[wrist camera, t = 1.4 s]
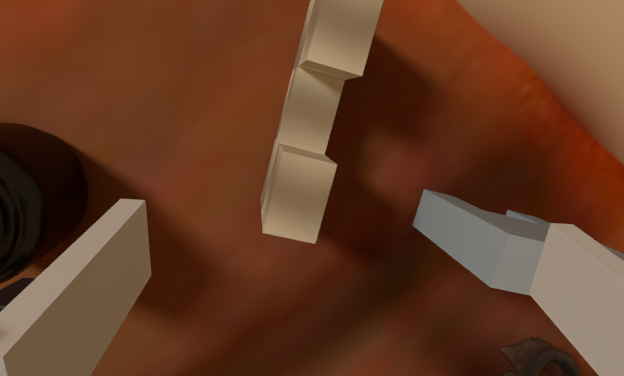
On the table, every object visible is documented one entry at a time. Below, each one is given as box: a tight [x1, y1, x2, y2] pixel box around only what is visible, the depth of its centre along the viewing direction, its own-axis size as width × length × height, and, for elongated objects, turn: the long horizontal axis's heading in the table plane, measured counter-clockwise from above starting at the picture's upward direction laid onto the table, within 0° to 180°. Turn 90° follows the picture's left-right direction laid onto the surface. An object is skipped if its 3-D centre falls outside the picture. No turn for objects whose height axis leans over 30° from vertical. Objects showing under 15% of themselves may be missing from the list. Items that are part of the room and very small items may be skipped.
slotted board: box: [261, 0, 383, 244], centre depth 25 cm, size 14×3×8 cm, turn 165°
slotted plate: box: [413, 189, 624, 295], centre depth 28 cm, size 10×3×11 cm, turn 75°
